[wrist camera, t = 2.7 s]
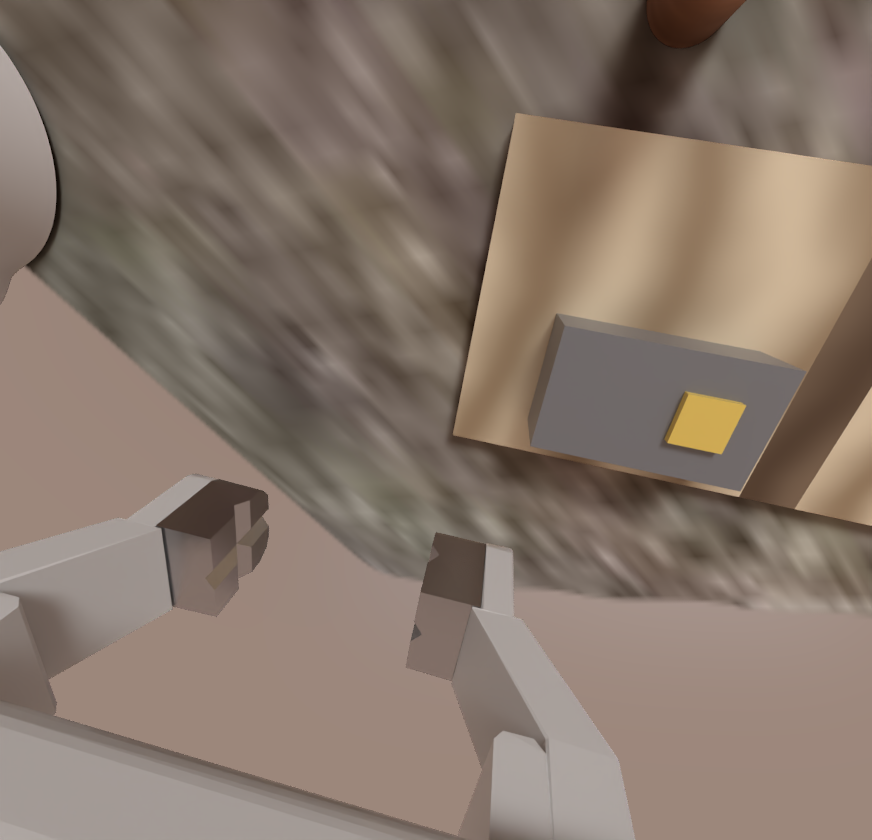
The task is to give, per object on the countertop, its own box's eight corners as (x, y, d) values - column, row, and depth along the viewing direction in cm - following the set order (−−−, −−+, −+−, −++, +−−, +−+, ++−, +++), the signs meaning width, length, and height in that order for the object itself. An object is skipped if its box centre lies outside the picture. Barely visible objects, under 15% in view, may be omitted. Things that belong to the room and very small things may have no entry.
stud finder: (527, 418, 24) (530, 449, 20) (556, 313, 21) (565, 327, 18) (708, 456, 23) (744, 496, 19) (760, 351, 20) (813, 374, 17)
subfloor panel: (455, 426, 26) (452, 434, 25) (515, 120, 19) (515, 113, 18) (900, 522, 24) (919, 536, 23) (1139, 214, 17) (1182, 212, 16)
